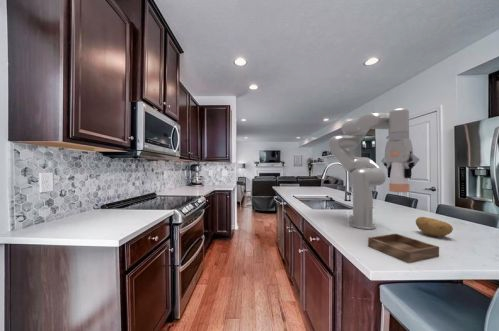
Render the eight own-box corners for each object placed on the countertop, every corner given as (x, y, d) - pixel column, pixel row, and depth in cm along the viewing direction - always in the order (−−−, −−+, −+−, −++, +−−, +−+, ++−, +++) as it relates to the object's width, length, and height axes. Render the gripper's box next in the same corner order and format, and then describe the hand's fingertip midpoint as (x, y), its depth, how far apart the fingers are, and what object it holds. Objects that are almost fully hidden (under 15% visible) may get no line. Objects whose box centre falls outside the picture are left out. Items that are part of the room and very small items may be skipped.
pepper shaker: (413, 192, 90) (412, 147, 91) (394, 192, 92) (393, 147, 92) (403, 190, 97) (403, 148, 98) (386, 190, 99) (386, 149, 99)
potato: (444, 241, 93) (445, 223, 93) (410, 232, 107) (410, 216, 107) (458, 239, 97) (458, 221, 97) (423, 230, 110) (423, 214, 110)
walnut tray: (368, 246, 88) (368, 237, 88) (396, 241, 93) (396, 233, 93) (408, 262, 73) (408, 252, 73) (439, 256, 78) (439, 246, 78)
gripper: (374, 139, 102) (375, 177, 101) (414, 133, 85) (414, 178, 85) (385, 140, 104) (386, 177, 104) (426, 134, 88) (426, 178, 88)
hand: (399, 177), depth 95 cm, fingers closed on pepper shaker, 6 cm apart
